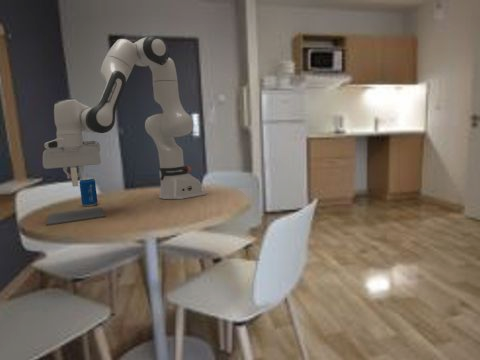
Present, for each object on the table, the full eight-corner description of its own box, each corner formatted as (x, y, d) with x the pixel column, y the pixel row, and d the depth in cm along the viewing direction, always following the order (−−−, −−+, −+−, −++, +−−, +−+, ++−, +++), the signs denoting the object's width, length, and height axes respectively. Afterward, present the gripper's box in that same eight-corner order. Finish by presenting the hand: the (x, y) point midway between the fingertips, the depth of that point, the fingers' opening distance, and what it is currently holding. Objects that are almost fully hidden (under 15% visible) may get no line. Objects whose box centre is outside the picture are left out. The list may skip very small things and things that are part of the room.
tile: (77, 183, 144) (75, 166, 143) (78, 186, 137) (76, 167, 136) (72, 184, 143) (70, 166, 142) (72, 186, 136) (70, 168, 135)
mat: (101, 208, 154) (101, 206, 154) (105, 217, 138) (105, 215, 138) (48, 215, 145) (48, 214, 145) (46, 225, 129) (46, 223, 129)
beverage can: (84, 207, 157) (81, 180, 156) (80, 205, 162) (77, 179, 161) (99, 204, 161) (96, 178, 160) (95, 202, 166) (92, 177, 165)
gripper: (98, 140, 145) (102, 174, 147) (40, 143, 136) (45, 180, 138) (100, 140, 139) (103, 176, 141) (39, 144, 131) (44, 182, 133)
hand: (74, 178), depth 140 cm, fingers closed on tile, 2 cm apart
